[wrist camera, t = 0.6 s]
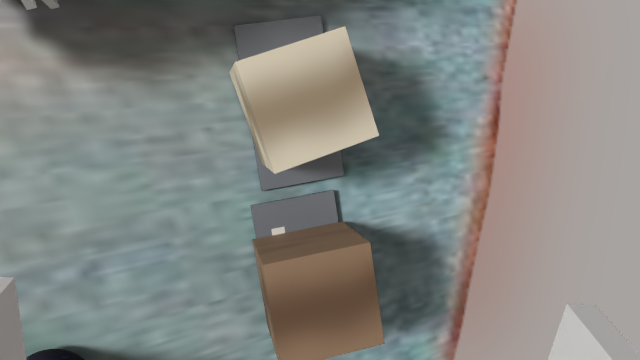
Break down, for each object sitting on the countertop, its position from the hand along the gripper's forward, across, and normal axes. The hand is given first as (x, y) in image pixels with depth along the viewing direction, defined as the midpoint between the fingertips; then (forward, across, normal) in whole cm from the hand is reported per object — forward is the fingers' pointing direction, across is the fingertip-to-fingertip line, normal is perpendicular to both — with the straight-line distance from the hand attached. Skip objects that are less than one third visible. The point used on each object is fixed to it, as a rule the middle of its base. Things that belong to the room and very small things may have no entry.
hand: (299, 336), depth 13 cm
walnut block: (+24, -2, +14) cm, 28 cm away
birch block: (+27, 0, +1) cm, 27 cm away
